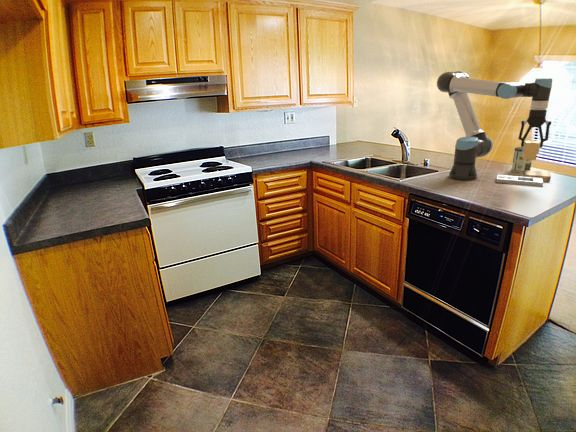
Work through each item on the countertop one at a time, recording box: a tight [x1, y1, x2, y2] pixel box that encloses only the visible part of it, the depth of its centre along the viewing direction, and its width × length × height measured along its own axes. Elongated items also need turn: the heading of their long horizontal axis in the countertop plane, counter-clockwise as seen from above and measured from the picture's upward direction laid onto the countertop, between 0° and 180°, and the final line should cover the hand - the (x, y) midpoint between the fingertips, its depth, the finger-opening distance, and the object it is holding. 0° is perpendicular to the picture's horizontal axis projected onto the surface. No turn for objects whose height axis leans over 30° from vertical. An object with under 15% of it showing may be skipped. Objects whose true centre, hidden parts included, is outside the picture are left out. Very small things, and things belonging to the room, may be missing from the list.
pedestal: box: [523, 169, 552, 182], centre depth 216 cm, size 12×12×3 cm
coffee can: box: [510, 146, 533, 174], centre depth 231 cm, size 10×10×14 cm
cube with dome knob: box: [523, 140, 540, 161], centre depth 202 cm, size 6×6×9 cm
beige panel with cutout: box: [495, 174, 544, 187], centre depth 210 cm, size 22×11×2 cm, turn 60°
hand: (530, 153), depth 203 cm, fingers closed on cube with dome knob, 6 cm apart
